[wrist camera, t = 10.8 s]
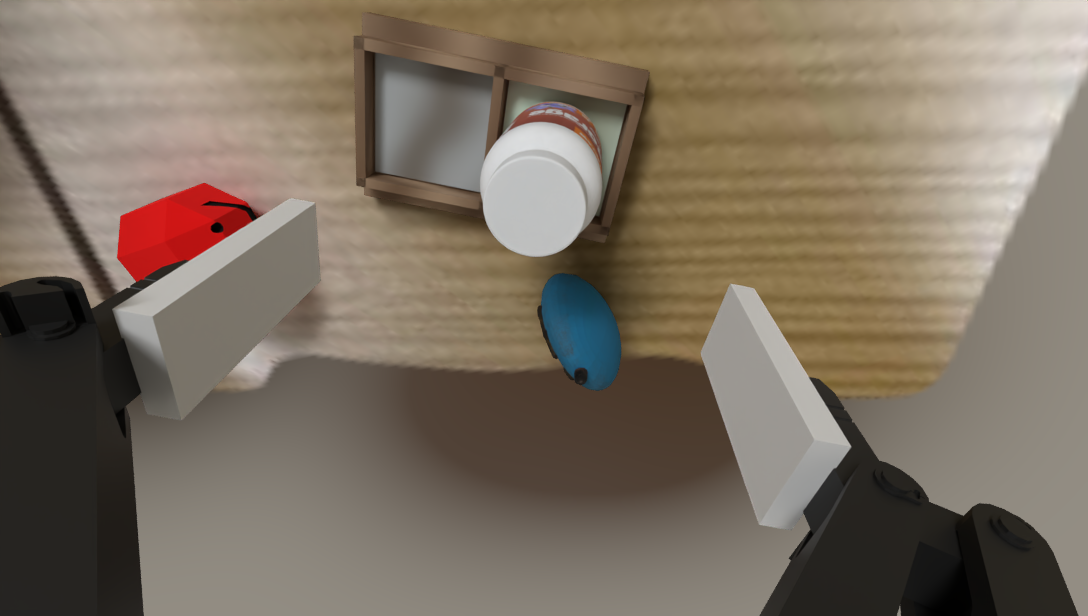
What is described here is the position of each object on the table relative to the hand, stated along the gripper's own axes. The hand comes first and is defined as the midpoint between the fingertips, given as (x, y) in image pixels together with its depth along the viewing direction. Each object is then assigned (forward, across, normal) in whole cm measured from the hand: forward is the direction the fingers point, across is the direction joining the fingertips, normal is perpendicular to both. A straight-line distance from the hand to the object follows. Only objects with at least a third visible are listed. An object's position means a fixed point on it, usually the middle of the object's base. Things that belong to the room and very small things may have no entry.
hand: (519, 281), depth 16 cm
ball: (+20, -23, -11) cm, 32 cm away
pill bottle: (+18, 0, 0) cm, 18 cm away
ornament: (+20, +4, -11) cm, 23 cm away
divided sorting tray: (+20, -4, 0) cm, 20 cm away
